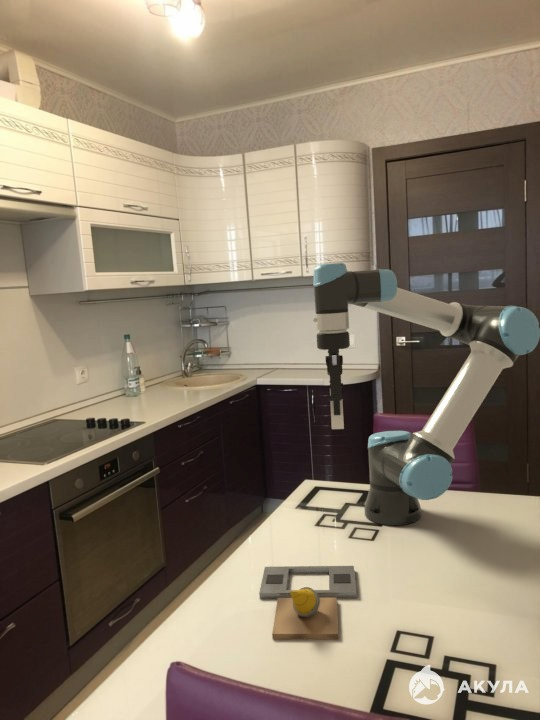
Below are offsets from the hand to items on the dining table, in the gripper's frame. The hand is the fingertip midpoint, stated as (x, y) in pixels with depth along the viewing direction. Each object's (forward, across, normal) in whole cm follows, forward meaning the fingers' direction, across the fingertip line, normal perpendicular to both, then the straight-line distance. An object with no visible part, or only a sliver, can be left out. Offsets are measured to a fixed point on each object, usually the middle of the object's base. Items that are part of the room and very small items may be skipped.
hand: (337, 421), depth 132 cm
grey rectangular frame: (+32, +16, -8) cm, 36 cm away
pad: (+32, +29, -8) cm, 44 cm away
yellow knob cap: (+31, +30, -8) cm, 43 cm away
